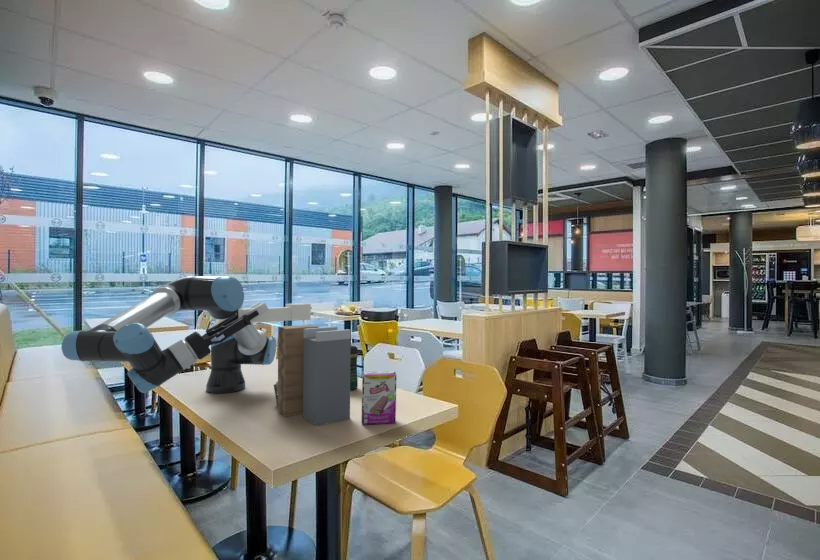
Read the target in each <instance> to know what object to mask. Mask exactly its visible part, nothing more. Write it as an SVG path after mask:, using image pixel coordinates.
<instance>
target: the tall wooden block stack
mask: <svg viewBox="0 0 820 560" xmlns="http://www.w3.org/2000/svg"><path fill="white" fill-rule="evenodd" d="M307 328H319V326H318V325H314V324H298V325H297V324H296V325H282V326H281V325H280V326H277V382H278V394H277V395H278V405H277V412H278V411H279V412H280V413H279V412H278V413H279V414H281V415H282V414H283V415H284V417H285V416H286V417H289V416H288V415H291V416H295V415H294V414H296V415H300V414H299V413H301V414H303V353H304V329H307ZM283 415H282V416H283Z"/></svg>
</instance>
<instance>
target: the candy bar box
mask: <svg viewBox="0 0 820 560" xmlns="http://www.w3.org/2000/svg"><path fill="white" fill-rule="evenodd" d="M361 373H362V374H361V376H362V379H361V415H360V416H361V425H364V426H365V425H387V424H388V425H389V424H396V417H397V416H396V415H397V413H396V411H397V408H396V407H397V373H396V371H393V370H389V371H385V370H384V371H362V372H361Z"/></svg>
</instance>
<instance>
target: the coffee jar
mask: <svg viewBox="0 0 820 560" xmlns="http://www.w3.org/2000/svg"><path fill="white" fill-rule="evenodd" d="M358 356H359V350H358V347H357V346H356V345H351V347H350V391H352V390H356V389H357V388H358V386H359V385H358V384H359V383H358V381H359V379H358Z"/></svg>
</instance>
